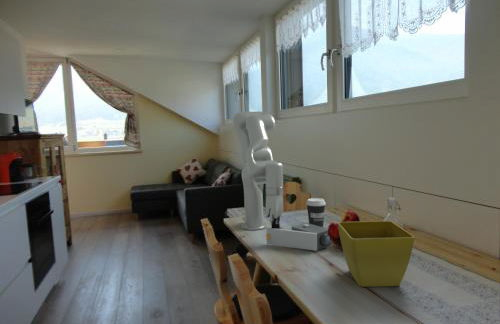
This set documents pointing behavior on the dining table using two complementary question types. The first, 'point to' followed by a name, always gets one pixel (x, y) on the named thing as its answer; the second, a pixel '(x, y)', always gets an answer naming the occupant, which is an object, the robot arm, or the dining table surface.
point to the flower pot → (376, 251)
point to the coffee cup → (316, 211)
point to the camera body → (322, 234)
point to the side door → (292, 238)
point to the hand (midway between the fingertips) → (275, 232)
